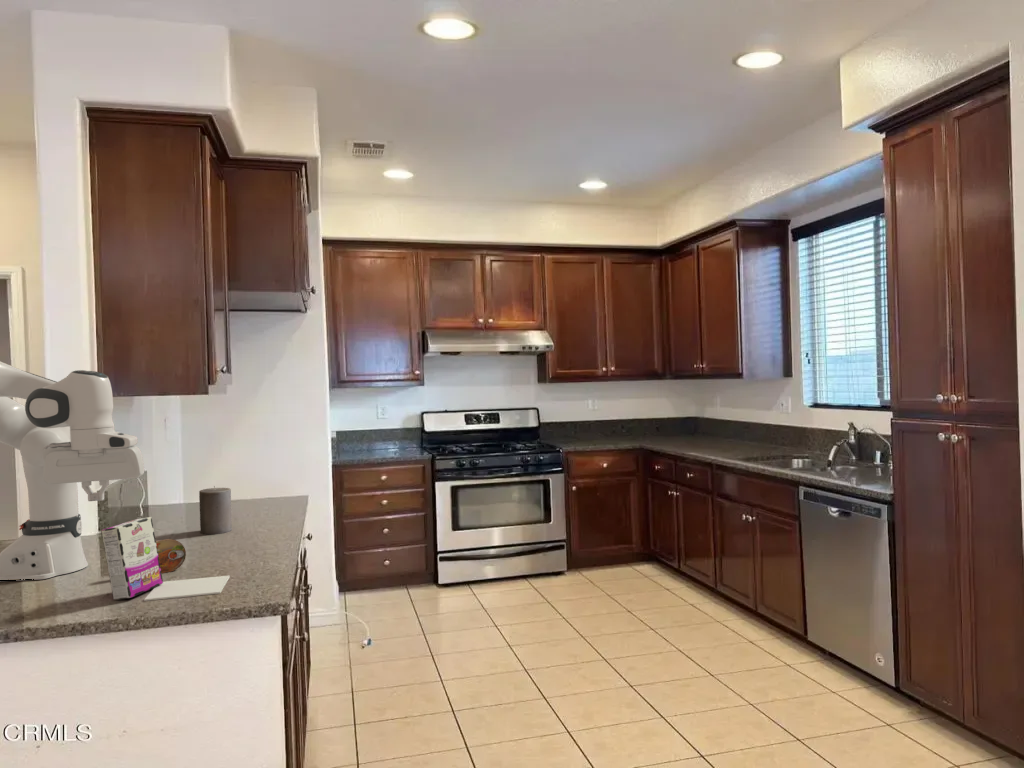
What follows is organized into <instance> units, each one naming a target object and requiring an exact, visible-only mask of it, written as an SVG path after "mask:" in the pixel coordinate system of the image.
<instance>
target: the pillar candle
mask: <svg viewBox="0 0 1024 768" xmlns="http://www.w3.org/2000/svg"><path fill="white" fill-rule="evenodd" d="M231 491H232V488H229V487H215V485H213V487H209V488H203V489H201V490H199V491H198V496H199V498H198V499H199V525H200V527H199V528H200V532H199V534H201V535H208V536H209V535H219V534H225V533H229V532H231V531H232V530H233V529H232V526H233V525H232V521H233V518H232V493H231Z"/></svg>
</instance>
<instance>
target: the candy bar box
mask: <svg viewBox="0 0 1024 768" xmlns="http://www.w3.org/2000/svg"><path fill="white" fill-rule="evenodd" d="M101 537H102V543H103V547H104V549H103V550H104V554H105V559H106V565H107V571H108V577H109V581H110V588H111V593H112V598H113V600H114V601H118V600H126V599H131V598H134V597H136V596H138V595H141V594H143V593H145V592H147V591H150V590H153V589H154V588H155V587H156V586H158V585H161V584H162V583H163V582H164V580H163V576H162V574H163V573H161V568H160V563H159V557H158V552H157V546H156V541H157V540H156V534H155V529H154V524H153V517H152V516H149V517H141V518H136V519H133V520H130V521H126V522H123V523H120V524H117V525H114V526H110V527H107V528H103V529H101Z"/></svg>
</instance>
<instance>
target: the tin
mask: <svg viewBox="0 0 1024 768" xmlns="http://www.w3.org/2000/svg"><path fill="white" fill-rule="evenodd" d="M156 546H157V552H158V557H159V563H160V568H161V574H166V573H171V572H174V571H176V570H179V568H180V567H182V566H183V564H184V563H185V560H186V556H187V551H186V547H185V546H184V545H183V543H181V542H180V541H178V540H176V539H172V538H166V539H160V540H156Z"/></svg>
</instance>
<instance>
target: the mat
mask: <svg viewBox="0 0 1024 768" xmlns="http://www.w3.org/2000/svg"><path fill="white" fill-rule="evenodd" d="M230 577H231V575H229V574H228V575H222V576H221V575H220V576H209V577H198V578H188V579H177V580H167V581H163V583H162V584H161V585H158V586H156V587H154V588H152V589H151V591H150V592H149V593H148V594H147V595H146V596H145V598H144V599H143V602H147V601H158V600H159V601H161V600H167V599H179V598H187V597H190V598H191V597H198V596H200V597H201V596H207V595H217V594H218V595H219V594H221V593H222V591H223V590H224V588H225V586H226V585H227V583H228V580H229V579H230Z"/></svg>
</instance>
